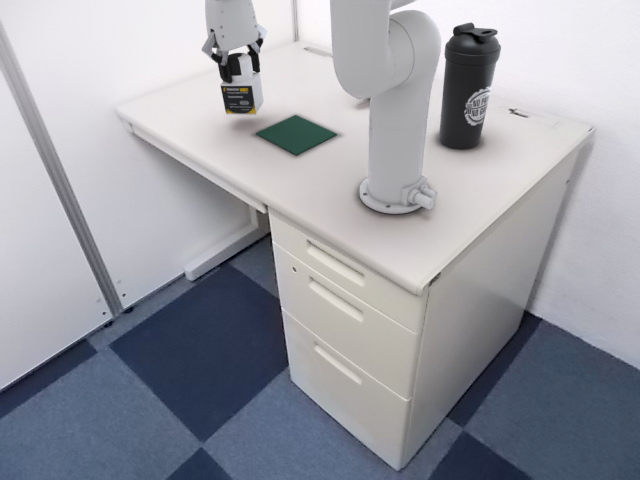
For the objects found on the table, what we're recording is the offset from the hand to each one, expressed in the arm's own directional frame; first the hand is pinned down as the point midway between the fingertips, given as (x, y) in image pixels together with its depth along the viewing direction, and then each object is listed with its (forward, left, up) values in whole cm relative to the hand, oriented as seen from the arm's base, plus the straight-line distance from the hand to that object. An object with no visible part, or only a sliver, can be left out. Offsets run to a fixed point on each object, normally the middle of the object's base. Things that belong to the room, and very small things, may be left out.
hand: (241, 75), depth 108 cm
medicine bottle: (0, 0, -8) cm, 8 cm away
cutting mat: (-12, -4, -12) cm, 17 cm away
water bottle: (-40, -26, -12) cm, 50 cm away
